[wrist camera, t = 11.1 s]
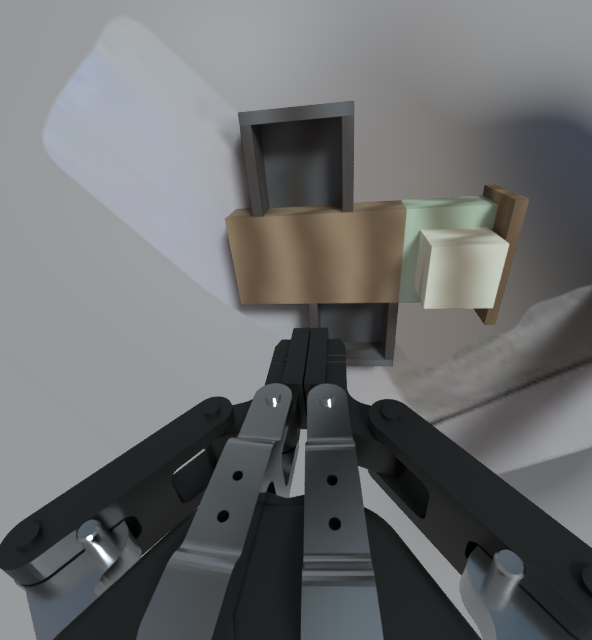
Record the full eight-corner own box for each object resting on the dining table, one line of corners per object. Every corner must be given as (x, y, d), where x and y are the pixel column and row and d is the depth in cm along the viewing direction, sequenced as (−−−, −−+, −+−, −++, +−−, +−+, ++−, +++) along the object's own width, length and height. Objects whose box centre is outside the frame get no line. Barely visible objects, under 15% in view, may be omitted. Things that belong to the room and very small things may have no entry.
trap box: (517, 85, 28) (562, 77, 22) (460, 347, 43) (478, 384, 37) (219, 116, 32) (191, 115, 26) (259, 346, 47) (246, 379, 41)
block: (486, 226, 31) (509, 243, 27) (474, 284, 34) (492, 308, 30) (420, 229, 32) (431, 246, 28) (414, 285, 35) (423, 308, 31)
